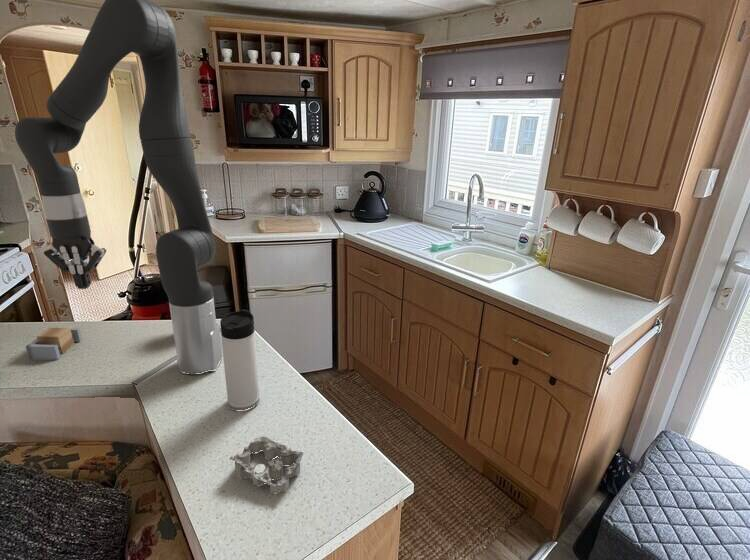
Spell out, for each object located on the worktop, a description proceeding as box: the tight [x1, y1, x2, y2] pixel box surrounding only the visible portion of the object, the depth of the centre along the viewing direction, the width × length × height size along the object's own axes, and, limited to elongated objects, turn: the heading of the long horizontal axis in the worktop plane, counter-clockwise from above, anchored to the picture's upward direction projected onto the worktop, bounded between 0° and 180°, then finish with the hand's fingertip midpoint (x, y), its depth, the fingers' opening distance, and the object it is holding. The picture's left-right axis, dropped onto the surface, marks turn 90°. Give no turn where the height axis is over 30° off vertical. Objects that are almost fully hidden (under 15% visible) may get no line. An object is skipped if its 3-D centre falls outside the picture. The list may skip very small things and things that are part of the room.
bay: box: [25, 327, 83, 361], centre depth 103 cm, size 6×10×4 cm
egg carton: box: [229, 436, 304, 495], centre depth 70 cm, size 11×8×4 cm
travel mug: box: [219, 308, 260, 411], centre depth 84 cm, size 6×7×20 cm
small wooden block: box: [35, 327, 76, 355], centre depth 103 cm, size 5×6×5 cm
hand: (84, 287), depth 98 cm, fingers closed
